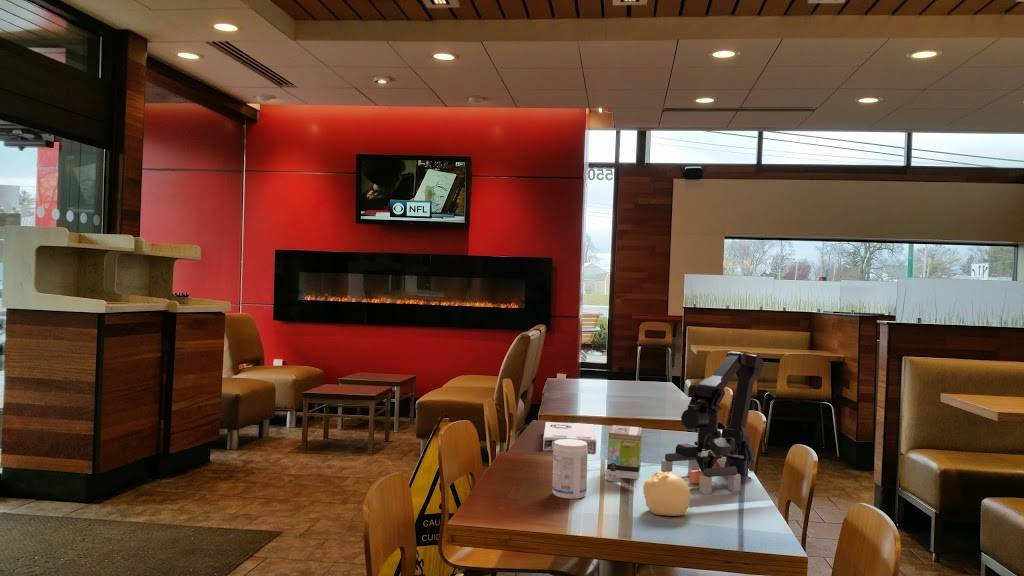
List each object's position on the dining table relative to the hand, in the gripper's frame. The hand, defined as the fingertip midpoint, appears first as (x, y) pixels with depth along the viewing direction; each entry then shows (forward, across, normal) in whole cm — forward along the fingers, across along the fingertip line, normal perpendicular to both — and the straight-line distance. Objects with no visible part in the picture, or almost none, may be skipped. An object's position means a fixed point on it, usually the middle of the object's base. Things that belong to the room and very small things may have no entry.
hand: (705, 478), depth 217 cm
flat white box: (+3, -11, +68) cm, 68 cm away
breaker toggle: (+1, -3, 0) cm, 3 cm away
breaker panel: (+3, -5, 0) cm, 6 cm away
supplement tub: (+3, -44, +3) cm, 44 cm away
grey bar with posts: (+3, -2, -9) cm, 10 cm away
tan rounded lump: (+3, -27, -19) cm, 33 cm away
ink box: (+3, +22, +22) cm, 31 cm away
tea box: (+3, -18, +17) cm, 25 cm away
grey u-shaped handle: (+3, -2, +10) cm, 10 cm away
